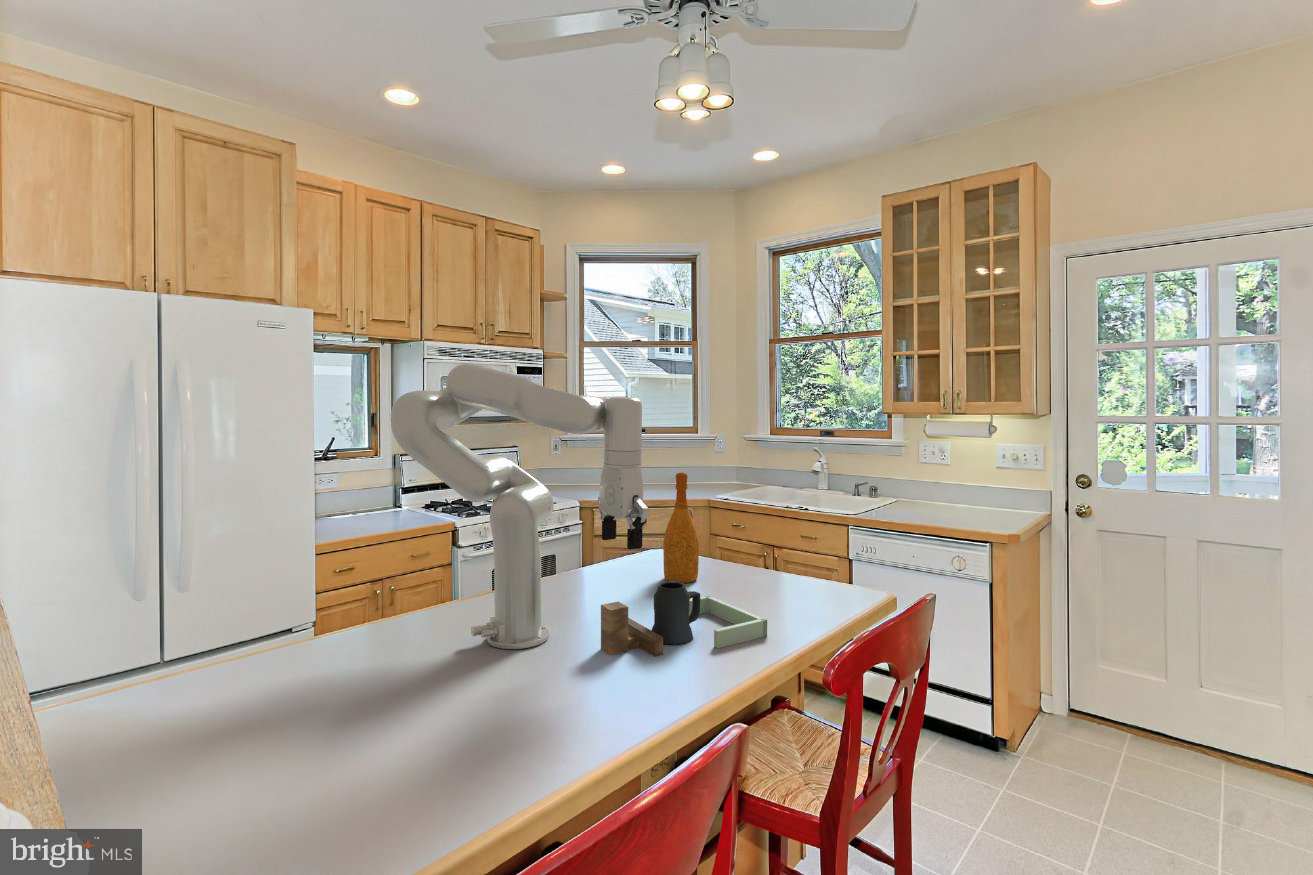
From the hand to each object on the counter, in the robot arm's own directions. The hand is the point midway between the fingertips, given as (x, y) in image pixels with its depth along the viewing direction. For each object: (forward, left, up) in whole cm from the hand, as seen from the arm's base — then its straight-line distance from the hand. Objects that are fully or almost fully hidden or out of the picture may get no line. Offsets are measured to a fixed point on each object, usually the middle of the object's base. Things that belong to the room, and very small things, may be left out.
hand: (621, 543), depth 132 cm
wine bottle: (+39, +35, -21) cm, 56 cm away
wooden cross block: (0, -1, -21) cm, 21 cm away
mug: (+13, -1, -21) cm, 25 cm away
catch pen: (+22, -1, -21) cm, 30 cm away
